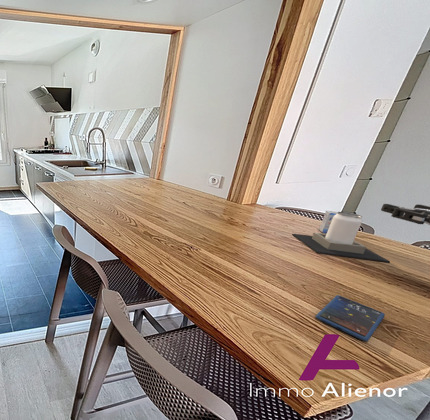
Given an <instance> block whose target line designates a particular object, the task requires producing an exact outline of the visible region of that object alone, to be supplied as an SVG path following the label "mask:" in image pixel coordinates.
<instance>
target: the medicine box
mask: <svg viewBox="0 0 430 420" xmlns="http://www.w3.org/2000/svg"><path fill="white" fill-rule="evenodd" d="M337 212H338V211H332V210H325V213H324V214H323V217H322V220H321V223H320V225H319V228H318V230H319V231H320V233H323V234H327V231H328V229H329V226H330V224H331V222H332V219H333V217H334V216H335V215H336V214H337Z"/></svg>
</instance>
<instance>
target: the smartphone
mask: <svg viewBox="0 0 430 420" xmlns="http://www.w3.org/2000/svg"><path fill="white" fill-rule="evenodd" d="M385 315H386V314H385V313H384V312H383V311H380V310H377V309H375V308H373V307H370V306H367V305H364V304H362V303H359V302H357V301H355V300H353V299H349V298H347V297H345V296H341V295H339V294H336V295H335V296H334V297H333V298H332V299H331V300H330V301H329V302H328V303H327V304H326V305H325V306H324V307H323V308H322V309H321V310H320V311H319V312H318V313H317V314H316V315H315V319H317V320H319V321H321V322H323V323H325V324H326V325H329V326H332V327H333V328H335V329H337V330H340V331H342V332H344V333H346V334H347V335H349V336H352V337H354V338H357V339H359V340H361V341H363V342H368V341H369V340H370V339H371V337H372V335H373V334H374V333H375V332H376V330H377V328H378V326H379V325H380V324H381V323H382V321H383V320H384V318H385Z"/></svg>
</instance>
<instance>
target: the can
mask: <svg viewBox="0 0 430 420" xmlns="http://www.w3.org/2000/svg"><path fill="white" fill-rule="evenodd" d="M336 212H337V214H336V215H335V216H334V217H333V219H332V222H331V224H330V226H329V229H328V231H327V234H326V233H325V234H326V236H325V238H326V239H328V240H329V241H331V242H335V243H343V244H352V243H353V241H355V239H356V236H357V234H358V232H359V230H360V227H361V226H362V223H363V219H362V218H363V216H362V215H361V214H357V213H353V212H348V211H336Z"/></svg>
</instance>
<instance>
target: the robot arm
mask: <svg viewBox="0 0 430 420" xmlns="http://www.w3.org/2000/svg"><path fill="white" fill-rule="evenodd" d="M380 211H381V212H383V213H388V214H391V216H390V217H391V218H395V219H399V220H403V221H407V222H410V223H413V224H417V225H424V224H427V225H428V226H430V206H429V205H424V204H420V203H419V204H415V205H414V207H413V208H408V207H404V206H398V205H395V204H391V203H383V205H382V206H381V208H380Z"/></svg>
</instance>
